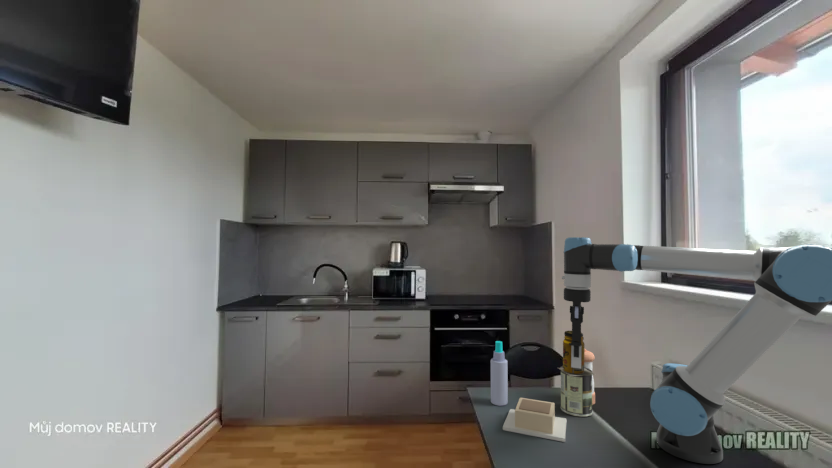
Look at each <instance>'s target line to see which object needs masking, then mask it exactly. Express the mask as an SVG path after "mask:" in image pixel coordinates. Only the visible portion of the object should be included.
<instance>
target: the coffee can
mask: <svg viewBox="0 0 832 468" xmlns="http://www.w3.org/2000/svg"><path fill="white" fill-rule="evenodd" d="M559 368H563V365H562V366H560V367H559ZM584 368H585V367H584ZM585 369H587V370H588V371H590V372H592V373H593V369H592V370H590V369H588V368H585ZM560 410H561V411H562V412H564V413H565V414H567V415H571V416H574V417H590V416H592V415H593V405H592V375H583V376H570V375H568V374H566V373H564V372H563V371H561V370H560Z"/></svg>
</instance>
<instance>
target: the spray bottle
mask: <svg viewBox="0 0 832 468" xmlns="http://www.w3.org/2000/svg"><path fill="white" fill-rule="evenodd" d="M508 371H509V370H508V359H506V358H505V351H504V350H503V341H501V340H496V341H495V350H493V357H492V358H491V359H490V403H491V404H493V405H495V406H498V407H504V406H506V405H508V402H509V401H508V400H509V398H508V397H509V396H508V395H509V394H508V393H509V392H508V390H509V389H508V387H509V386H508V382H509V381H508V380H509V379H508V374H509V373H508Z"/></svg>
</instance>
